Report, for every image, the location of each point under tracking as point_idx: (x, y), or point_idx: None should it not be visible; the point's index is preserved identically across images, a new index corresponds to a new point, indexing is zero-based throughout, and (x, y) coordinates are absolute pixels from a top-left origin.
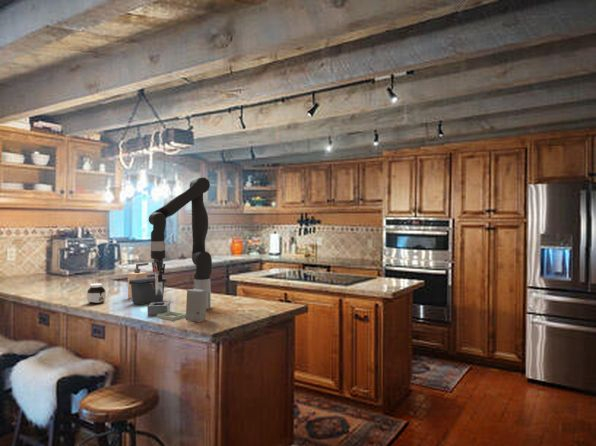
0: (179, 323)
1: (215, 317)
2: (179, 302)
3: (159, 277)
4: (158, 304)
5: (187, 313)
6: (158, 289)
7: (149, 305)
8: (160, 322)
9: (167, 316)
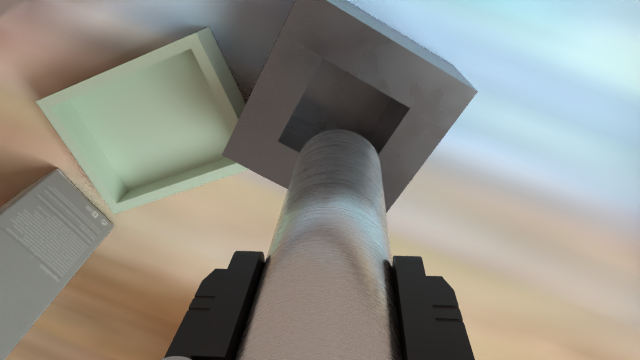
0: (13, 112)
1: (87, 315)
2: (635, 347)
3: (184, 324)
4: (389, 132)
5: (14, 199)
6: (291, 183)
7: (335, 20)
8: (94, 12)
9: (87, 79)
